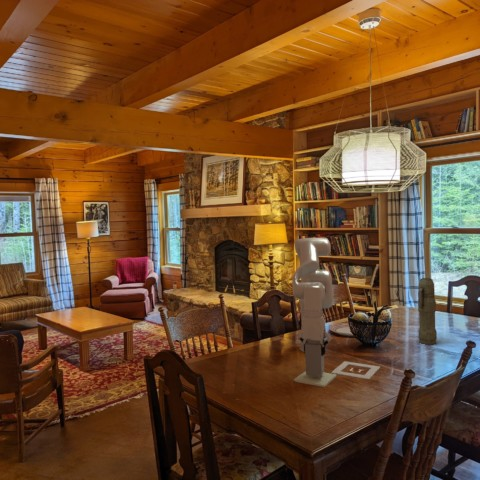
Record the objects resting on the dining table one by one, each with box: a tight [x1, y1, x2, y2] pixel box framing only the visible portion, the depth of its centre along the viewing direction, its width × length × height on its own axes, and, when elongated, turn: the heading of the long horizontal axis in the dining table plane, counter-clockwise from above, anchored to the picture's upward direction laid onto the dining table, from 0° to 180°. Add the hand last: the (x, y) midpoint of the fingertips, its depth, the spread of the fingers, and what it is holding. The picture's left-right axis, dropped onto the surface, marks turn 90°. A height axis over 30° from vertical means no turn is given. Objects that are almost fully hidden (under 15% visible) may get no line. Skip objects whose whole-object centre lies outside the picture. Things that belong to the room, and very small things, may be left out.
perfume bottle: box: [304, 339, 325, 377], centre depth 189 cm, size 7×7×18 cm
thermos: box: [417, 277, 438, 346], centre depth 234 cm, size 9×12×35 cm
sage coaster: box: [293, 370, 338, 388], centre depth 190 cm, size 14×14×1 cm
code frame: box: [331, 361, 381, 380], centre depth 198 cm, size 17×17×1 cm
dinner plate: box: [328, 322, 354, 337], centre depth 262 cm, size 27×27×3 cm
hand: (314, 353), depth 189 cm, fingers closed on perfume bottle, 6 cm apart
